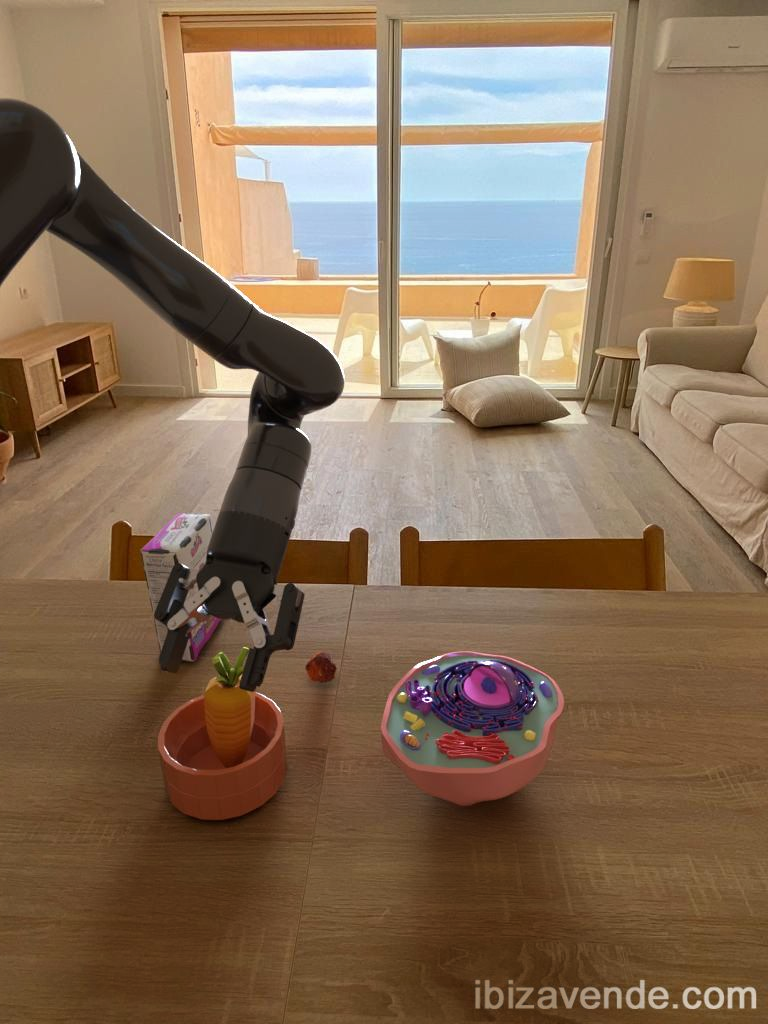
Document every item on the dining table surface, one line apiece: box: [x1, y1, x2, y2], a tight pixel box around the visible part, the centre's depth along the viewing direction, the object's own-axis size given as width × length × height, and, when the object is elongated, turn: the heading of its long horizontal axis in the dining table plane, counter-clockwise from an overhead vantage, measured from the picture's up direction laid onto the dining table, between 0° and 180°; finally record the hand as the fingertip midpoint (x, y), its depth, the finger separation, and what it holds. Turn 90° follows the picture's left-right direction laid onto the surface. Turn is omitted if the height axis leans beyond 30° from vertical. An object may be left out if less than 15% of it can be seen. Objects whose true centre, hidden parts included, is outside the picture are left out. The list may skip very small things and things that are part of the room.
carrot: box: [203, 646, 256, 768], centre depth 69 cm, size 5×5×15 cm
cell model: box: [380, 650, 565, 807], centre depth 70 cm, size 17×20×11 cm
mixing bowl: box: [157, 692, 288, 821], centre depth 71 cm, size 12×12×6 cm
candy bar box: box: [139, 512, 223, 663], centre depth 92 cm, size 11×5×16 cm, turn 171°
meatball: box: [305, 651, 338, 683], centre depth 85 cm, size 4×4×4 cm
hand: (206, 680), depth 65 cm, fingers open, 8 cm apart
